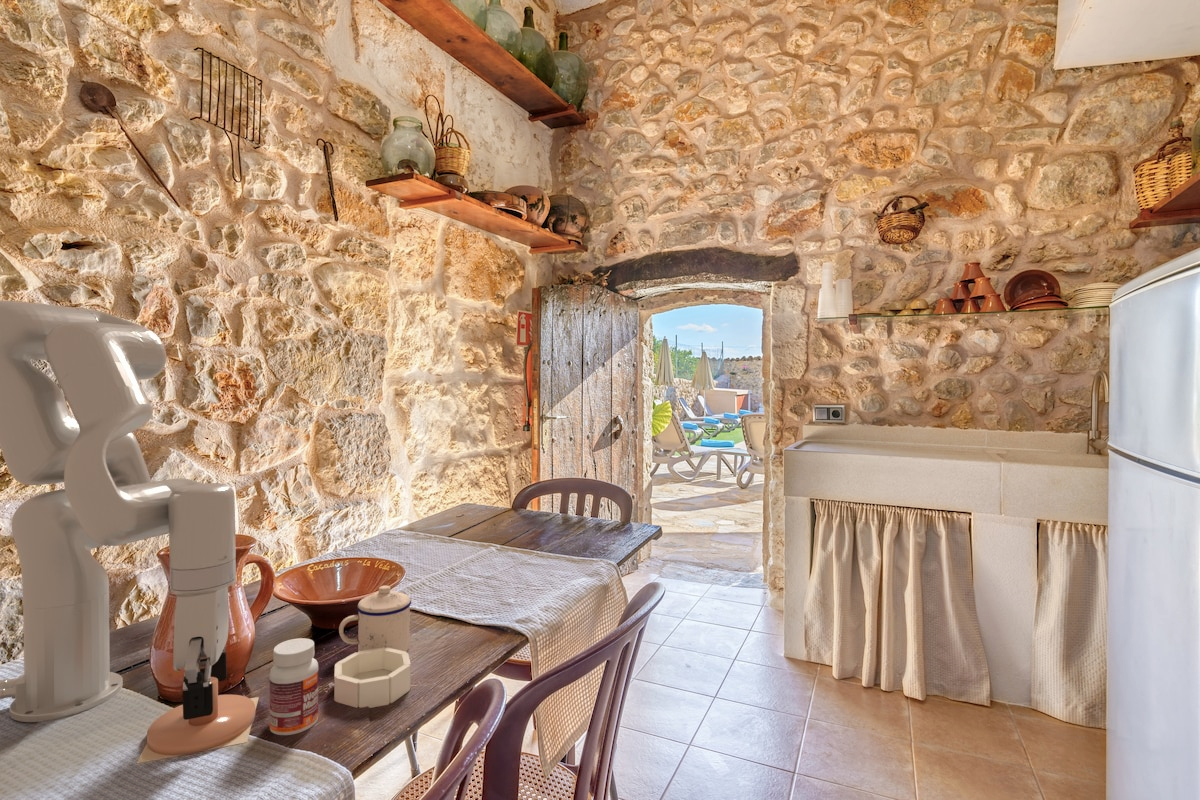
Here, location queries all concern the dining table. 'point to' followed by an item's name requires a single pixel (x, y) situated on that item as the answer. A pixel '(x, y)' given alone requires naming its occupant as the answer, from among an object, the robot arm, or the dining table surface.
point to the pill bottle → (293, 687)
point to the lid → (201, 726)
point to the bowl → (372, 677)
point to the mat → (242, 738)
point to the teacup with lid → (381, 621)
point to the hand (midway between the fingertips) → (206, 698)
